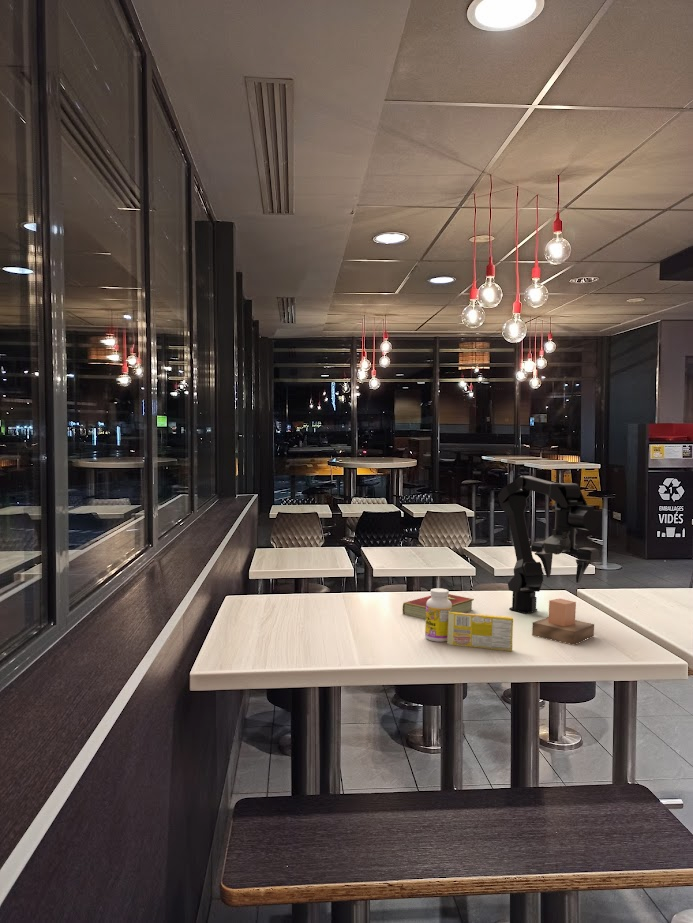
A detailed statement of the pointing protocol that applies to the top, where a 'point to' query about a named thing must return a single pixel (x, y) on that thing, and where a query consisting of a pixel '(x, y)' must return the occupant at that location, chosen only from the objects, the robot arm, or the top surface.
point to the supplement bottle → (437, 615)
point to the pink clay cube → (562, 612)
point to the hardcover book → (419, 605)
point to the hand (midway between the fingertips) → (562, 580)
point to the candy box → (480, 631)
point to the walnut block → (563, 631)
